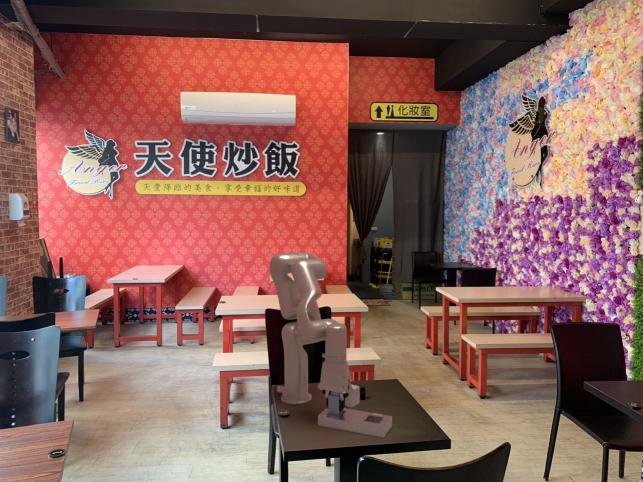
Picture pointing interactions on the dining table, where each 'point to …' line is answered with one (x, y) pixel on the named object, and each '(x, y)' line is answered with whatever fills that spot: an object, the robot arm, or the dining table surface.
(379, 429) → the panel
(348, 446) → the dining table surface
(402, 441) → the dining table surface
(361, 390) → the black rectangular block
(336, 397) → the plug
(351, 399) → the product box
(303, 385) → the robot arm
